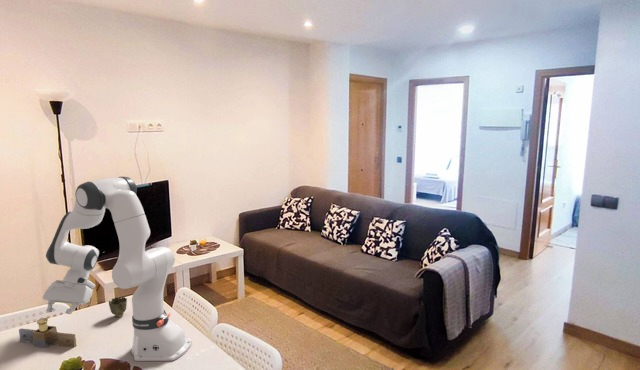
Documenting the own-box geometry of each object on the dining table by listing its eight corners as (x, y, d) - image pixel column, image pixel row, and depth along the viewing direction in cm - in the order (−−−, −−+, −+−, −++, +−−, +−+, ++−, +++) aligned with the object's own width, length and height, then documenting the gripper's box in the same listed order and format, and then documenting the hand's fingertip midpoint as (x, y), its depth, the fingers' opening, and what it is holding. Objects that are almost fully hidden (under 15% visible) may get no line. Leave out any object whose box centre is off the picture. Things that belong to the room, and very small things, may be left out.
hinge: (81, 342, 156) (79, 328, 155) (69, 350, 150) (68, 336, 149) (27, 336, 160) (25, 323, 160) (14, 344, 155) (13, 330, 154)
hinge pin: (52, 341, 157) (50, 318, 156) (45, 346, 154) (42, 322, 152) (45, 340, 158) (42, 317, 156) (37, 345, 154) (34, 321, 153)
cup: (120, 321, 173) (119, 304, 172) (106, 319, 174) (104, 302, 173) (131, 313, 180) (130, 297, 179) (117, 311, 182) (116, 295, 180)
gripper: (49, 277, 169) (31, 308, 161) (90, 280, 165) (74, 312, 157) (59, 282, 174) (42, 313, 166) (98, 285, 170) (83, 317, 162)
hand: (58, 312), depth 161 cm, fingers open, 8 cm apart
